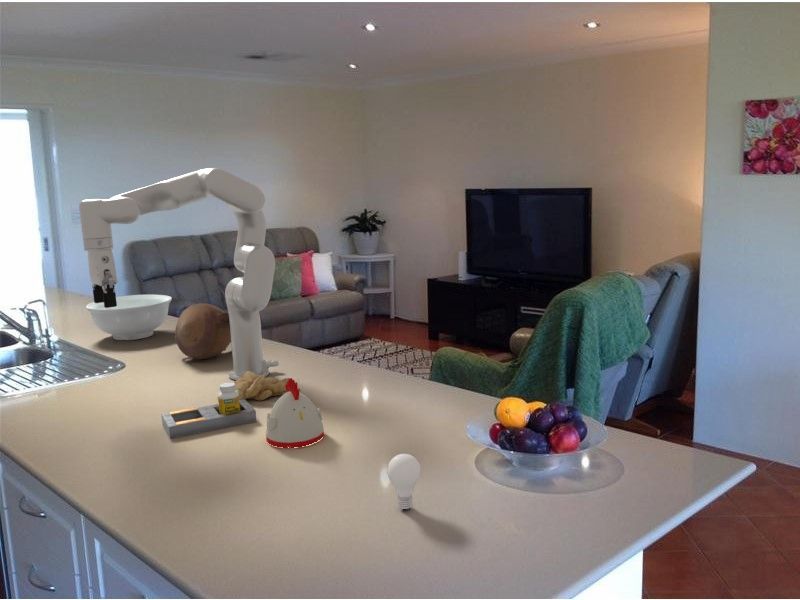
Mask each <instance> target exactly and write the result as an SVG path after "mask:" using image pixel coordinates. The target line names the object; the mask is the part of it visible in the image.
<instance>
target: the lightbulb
mask: <svg viewBox="0 0 800 600" xmlns="http://www.w3.org/2000/svg"><path fill="white" fill-rule="evenodd" d="M421 469H422V468H421V464H420V463H419V461H418V459H417V458H416V457H415V456H413V455H411V454H409V453H399V454H396V455H395V456H393V457H392V458H391V459H390V461H389V462H388V464H387V469H386V471H387V472H386V473H387V478H388V480H389V481H390V482H391V484H392V486H394V489H395V492H396V495H397V502H398V506H397V507H398V508H399V509H400V508H401V510H403V509H408V510H410V509H412V507H413V493H414V490H415V486H416V485H417V483H418V481H419V480H420V477H421V475H422V472H421V471H422V470H421ZM409 508H410V509H409Z"/></svg>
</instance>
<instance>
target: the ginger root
mask: <svg viewBox="0 0 800 600" xmlns="http://www.w3.org/2000/svg"><path fill="white" fill-rule="evenodd" d="M289 379H290V377H287V378H285V377H284V378H283V379H281V380H279V378H273V377H271V376H270V377H266V376H265V375H263V376H261V377H260V376H257V375H256V374H255V373H254V372H250V371H247V372H246V373H245V374H244V375H242V378H240V379H238V380H234V382H233V383H235V387H236V388H235V390H236V391H237V392H238V393H239V400H244V399H245V400H246V399H250V400H251V399H252V400H256V401H265V400H266V399H268V398H269V397H272V396H273V397H274V396H280V395H281V396H282V395H284V394H285V393H286V388H285V385H286V384H287V381H289Z"/></svg>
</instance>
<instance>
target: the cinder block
mask: <svg viewBox="0 0 800 600" xmlns="http://www.w3.org/2000/svg"><path fill="white" fill-rule="evenodd" d="M239 402H240V411H238V412H232V413H227V414H222V415H220V412H219V403H216V404H211V405H206V406H200V407H190V408H185V409H179V410H173V411H169V412H167V413H160V414H161V422H162V423H161V425H162V427H163V429H164V428H165V429H164V430H165V433H166V434H167V436H168V435H169V436H168V438H169V437H170V438H169V439H172V438H171V437H175V438H178V437H177V436H180V437H184V436H183V435H185V436H188V434H190V435H194V433H195V434H199V432H201V433H204V432H203V431H206V432H209V431H208V430H211V431H214V430H213V429H216V430H220V429H219V428H221V429H226V428H231V427H230V426H232V427H235V426H241V425H246V424H252V423H256V422H257V410H256V409H255V408H254V407H253V406H252V405H251V404H250V403H249V402H248V401H247V400H246V399H243V400H239ZM225 427H226V428H225Z"/></svg>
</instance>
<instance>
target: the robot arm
mask: <svg viewBox="0 0 800 600" xmlns="http://www.w3.org/2000/svg"><path fill="white" fill-rule="evenodd" d="M210 198H216V199H218V200H220V201H222V202H224V203H225V204H226V206H227V208H228V209H229V210H230V211H232V213H233V214H234V216H235V218H236V220H237V235H236V236H237V238H236V242H235V249H234V253H233V265H234V267H235V268H236V269H237V270H238V271H240V272H242V273H243V276H239V277H235V278H232V279H231V280H230V281H228V283H227V285H226V287H225V290H224V291H225V292H224V298H225V304H226V307H227V313H229V320H230V333H231V343H230V345H231V355H232V369H233V370H231V371H229V372H228V378H229V379H230V380H234V381H236V380H238V379H240V378H242V375H244V374H245V373H246V372H247V371H250V372H254V373H255V374H256V375H257V376H260V377H261V376H263V375H265V377H267V376H268V375H269V374H270V368H273V367H274V368H275V367H279V359H276V360H273V359H269V360H266V359H264V353H263V338H262V336H263V335H262V324H261V323H262V322H261V314H260V311H262V310H263V309H265V308H266V307H267V306H268V304H269V301H270V299H271V294H272V290H273V283H274V277H275V271H276V259H275V255H274V253H273V251H272V250H271V249H270V248H268V247H267V246H265V242H266V234H267V233H266V232H267V222H266V217H265V214H264V212H263V210H262V209H263V208H264V206H265V202H266V197H265V194H264V191H262V190H261V189H260V188H259V186H257V185H255V184H253V183H251V182H249V181H246V180H245V179H243V178H240V177H239V176H237V175H235V174H233V173H231V172H229V171H228V170H225V169H222V168H219V167H208V168H203V169H202V168H201V169H199V170H195V171H192V172H188V173H186V174H183V175H180V176H176V177H173V178H170V179H167V180H163V181H160V182H157V183H156V182H155V183H154V184H151V185H148V186H145V187H139V188H137V189H133V190H129V191H127V192H124V193H121V194H118V195H114V196H112V197H110V198H109V199H103V198H92V199H91V198H90V199H89V198H88V199H83V200H80V202H79V204H78V209H79V216H80V217H79V219H80V225H81V233H82V235H81V236H82V242H83V250H84V251H85V252H87V257H88V258H87V260H88V271H89V278H90V281H91V283H92V294H93V302H94V303H102V302H104V307H105V308H110V307H116V306H117V302H116V297H117V296H116V294H117V293H116V288H115V287H116V286H115V285H117V283H118V276H117V270H116V263H115V257H114V254H113V249H114V242H113V231H112V224H116V225H117V224H118V225H119V224H120V225H130V224H133V223H135V222H136V221H137V220H138V219H139V218H140V216H143V215H145V214H151V213H156V212H163V211H164V212H165V211H172V210H178V209H180V208H182V207H186V206H189V205H191V204H194V203H197V202H200V201H203V200H207V199H210Z"/></svg>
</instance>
